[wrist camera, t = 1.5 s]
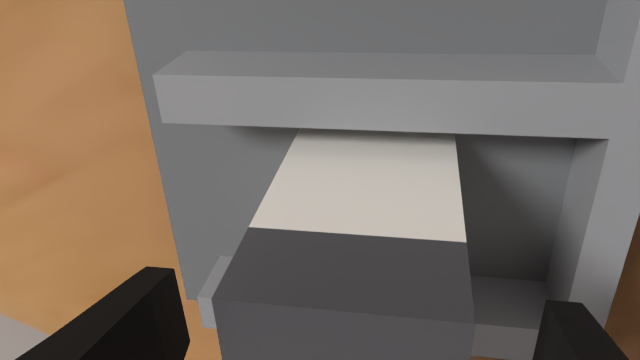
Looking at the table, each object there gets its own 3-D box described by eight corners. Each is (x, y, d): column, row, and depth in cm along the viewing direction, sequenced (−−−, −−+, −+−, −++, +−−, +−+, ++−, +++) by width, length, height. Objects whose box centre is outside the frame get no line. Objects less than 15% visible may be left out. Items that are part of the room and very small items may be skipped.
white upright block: (442, 253, 15) (452, 488, 9) (309, 243, 16) (239, 456, 10) (453, 128, 14) (475, 324, 8) (302, 123, 14) (211, 298, 8)
